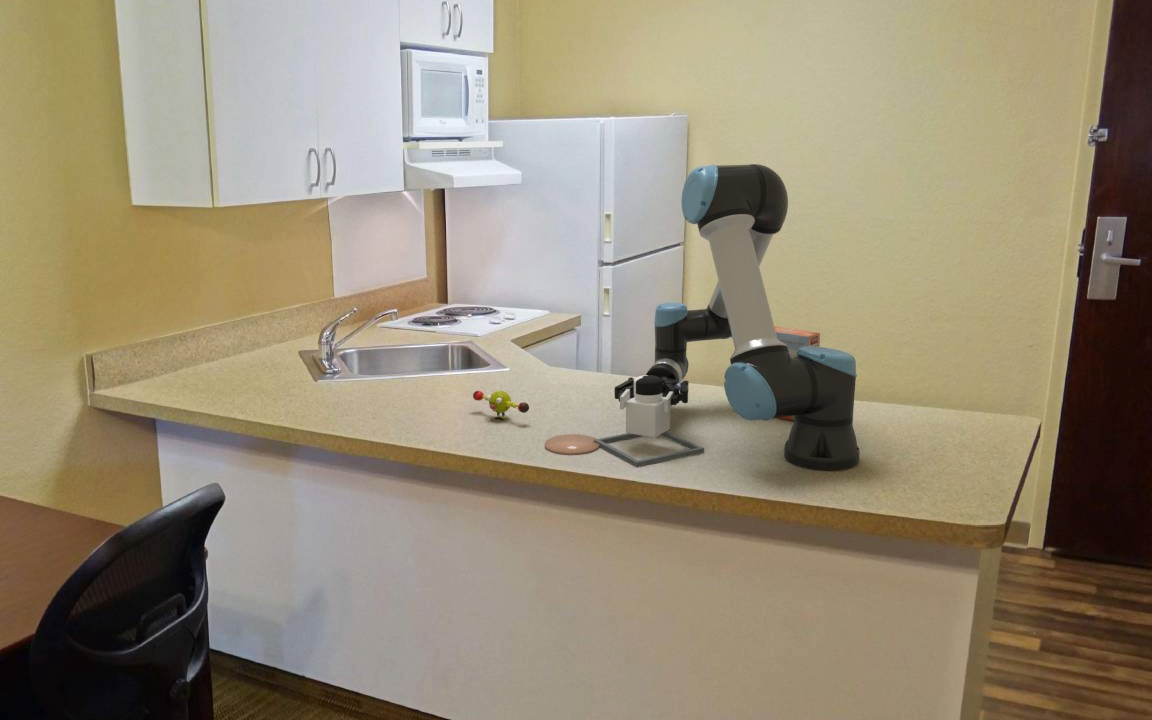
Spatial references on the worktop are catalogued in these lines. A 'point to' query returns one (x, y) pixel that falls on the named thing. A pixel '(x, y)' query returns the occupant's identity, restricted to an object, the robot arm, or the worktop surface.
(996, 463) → the worktop surface
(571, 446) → the coaster
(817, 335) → the cracker box
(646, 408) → the medicine bottle
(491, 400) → the toy figure
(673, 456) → the gray square frame
